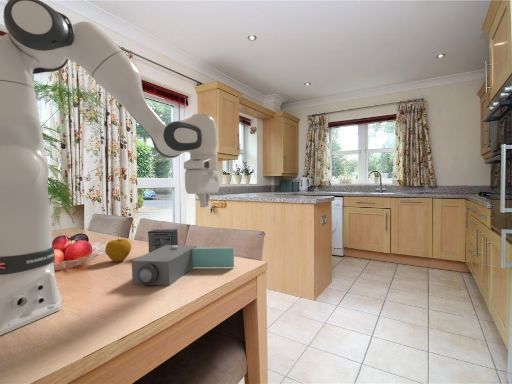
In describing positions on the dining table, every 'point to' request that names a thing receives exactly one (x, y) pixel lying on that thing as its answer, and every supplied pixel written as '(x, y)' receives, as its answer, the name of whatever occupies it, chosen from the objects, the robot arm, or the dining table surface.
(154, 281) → the block
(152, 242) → the small box
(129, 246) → the apple
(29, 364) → the dining table surface
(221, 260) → the side door
